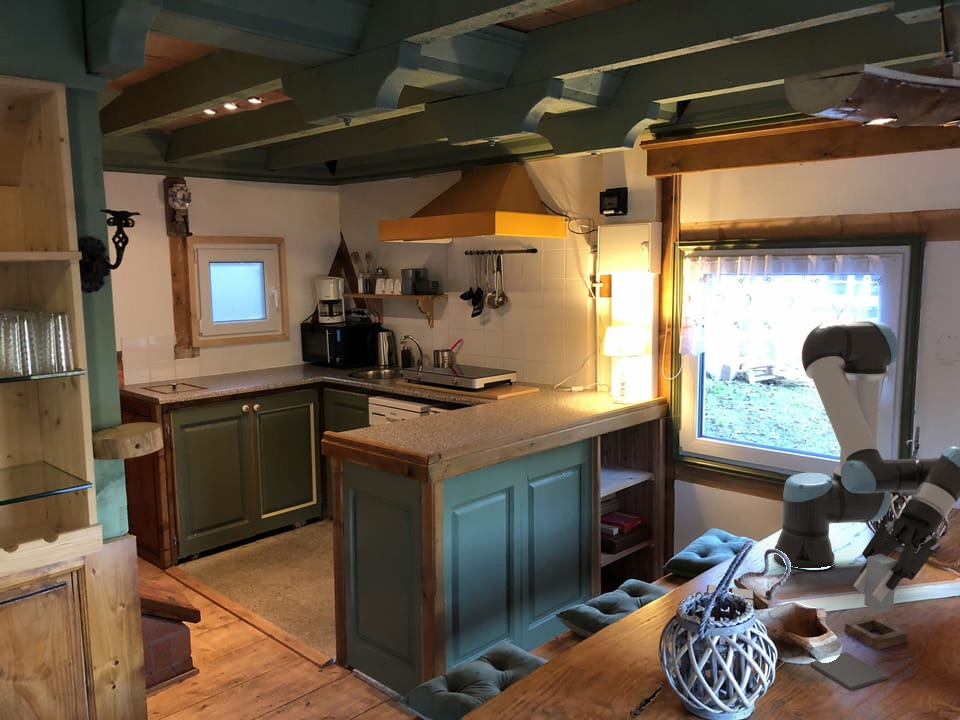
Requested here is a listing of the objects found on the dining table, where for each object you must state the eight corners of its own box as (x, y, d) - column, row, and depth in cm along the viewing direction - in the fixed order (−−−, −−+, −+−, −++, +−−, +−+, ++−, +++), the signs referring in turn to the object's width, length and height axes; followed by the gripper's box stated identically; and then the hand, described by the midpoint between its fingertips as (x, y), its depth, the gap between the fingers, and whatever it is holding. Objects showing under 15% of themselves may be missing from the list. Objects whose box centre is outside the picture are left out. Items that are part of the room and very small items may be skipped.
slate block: (864, 604, 169) (867, 556, 168) (877, 601, 171) (880, 553, 169) (879, 612, 166) (883, 563, 164) (893, 609, 167) (897, 560, 166)
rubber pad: (810, 664, 158) (810, 662, 158) (846, 654, 162) (846, 651, 162) (850, 690, 149) (850, 687, 149) (887, 678, 153) (888, 675, 153)
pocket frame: (844, 631, 172) (845, 623, 172) (872, 624, 175) (873, 615, 175) (878, 649, 164) (878, 640, 164) (907, 641, 167) (907, 632, 167)
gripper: (972, 531, 164) (910, 620, 160) (900, 506, 179) (842, 587, 175) (957, 511, 161) (893, 601, 157) (885, 487, 176) (826, 568, 173)
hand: (867, 593), depth 166 cm, fingers closed on slate block, 4 cm apart
